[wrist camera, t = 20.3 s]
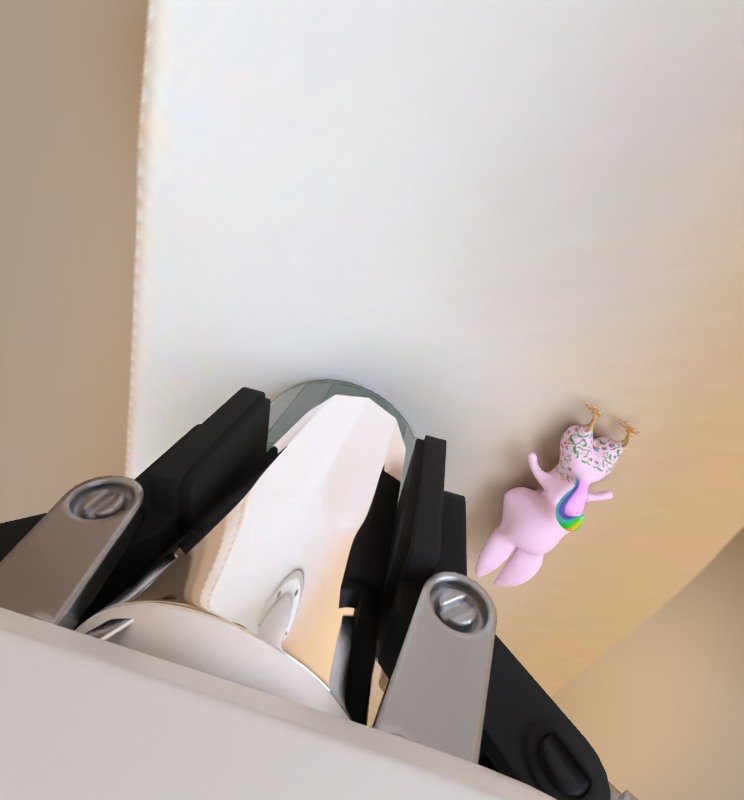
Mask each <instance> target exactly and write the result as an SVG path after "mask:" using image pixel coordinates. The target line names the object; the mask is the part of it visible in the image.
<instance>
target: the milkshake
mask: <svg viewBox="0 0 744 800" xmlns="http://www.w3.org/2000/svg"><path fill="white" fill-rule="evenodd" d="M405 451H406V448H405V445H404V442H403V439H402V436H401V432H400V429H399V426H398V423H397V420H396V418H395V417H393V416H392V415H391V414H389V413H388V412H387V411H385V410H384V409H383V408H381V407H380V406H379V405H378V404H376V403H375V402H374V401H372V400H371V399H370V398H365V397H355V396H345V395H334V396H332V397H331V398H329V399H328V400H326V401H324V402H323V403H321V404H319V405H318V406H316V407H314V408H313V409H311V410H310V411H308V412H307V413H306V414H305V415H304V416H303V417H302V418H301V419H300V420H299V421H298V422H297V423H296V424H295V425H294V426H293V427H292V428H291V429H290V430H289V431H288V432H287V433H286V434H285V435H284V436H283V437H282V438H281V439H280V440H279V441H277V442H276V443H275V444H274V445H273V446H272V447H271V448H270V449H269V450H268V451H267V452H266V453H265V454H264V455H263V456H262V457H261V458H260V459H259V460H258V461H257V462H256V463H255V464H254V465H253V466H252V467H251V468H250V469H249V470H248V471H247V472H246V473H245V474H244V475H243V476H242V477H241V478H240V479H239V480H238V481H237V482H236V483H235V484H234V485H233V486H231V487H230V488H229V489H228V490H227V491H226V492H225V493H224V494H223V495H222V496H221V497H220V498H219V499H218V500H217V501H216V502H215V503H214V504H213V505H212V506H211V507H210V508H209V509H208V510H207V511H205V512H204V513H203V514H202V515H201V516H200V517H199V518H198V519H197V520H196V521H194V522H193V523H192V524H191V525H190V526H189V527H188V528H187V529H186V530H185V531H184V532H182V533H181V534H180V535H179V536H178V537H177V538H176V539H175V540H174V541H173V542H171V543H170V544H169V545H168V546H167V547H166V548H165V549H164V550H163V551H162V552H160V553H159V554H158V555H157V556H156V557H155V558H154V559H153V560H152V561H151V562H150V563H148V564H147V565H146V566H145V567H144V568H143V569H142V570H141V571H140V572H139V573H137V574H136V575H135V576H134V577H133V578H132V579H131V580H130V581H129V582H128V583H127V584H125V585H124V586H123V587H122V588H121V589H120V590H119V591H118V592H117V593H116V594H114V595H113V596H112V597H111V598H110V599H109V600H108V601H107V602H106V603H105V604H104V605H102V606H101V607H100V608H99V609H98V610H97V611H96V612H95V613H94V614H93V615H92V616H91V617H90V618H89V619H88V620H86V621H85V622H84V623H82V624H81V625H80V626H79V627H78V628H77V629H76V630H75V631H76V632H80V633H83V634H86V635H89V636H92V637H95V638H98V639H102V640H105V641H108V642H111V643H114V644H117V645H120V646H123V647H127V648H130V649H133V650H136V651H139V652H142V653H145V654H148V655H151V656H154V657H157V658H161V659H164V660H167V661H170V662H173V663H176V664H179V665H182V666H185V667H188V668H191V669H195V670H198V671H201V672H204V673H207V674H210V675H213V676H216V677H219V678H222V679H225V680H228V681H232V682H235V683H238V684H241V685H244V686H247V687H250V688H253V689H256V690H259V691H262V692H265V693H268V694H271V695H274V696H277V697H280V698H283V699H287V700H290V701H293V702H296V703H299V704H302V705H305V706H308V707H311V708H314V709H317V710H320V711H323V712H326V713H329V714H332V715H335V716H338V717H341V718H344V719H347V720H350V721H353V722H356V723H359V724H362V725H365V726H367V721H368V713H369V705H370V697H371V688H372V680H373V672H374V664H375V656H376V648H377V640H378V632H379V624H380V616H381V608H382V599H383V591H384V585H385V579H386V573H387V567H388V560H389V554H390V548H391V542H392V535H393V529H394V523H395V516H396V510H397V503H398V497H399V491H400V484H401V478H402V471H403V465H404V459H405Z"/></svg>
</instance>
